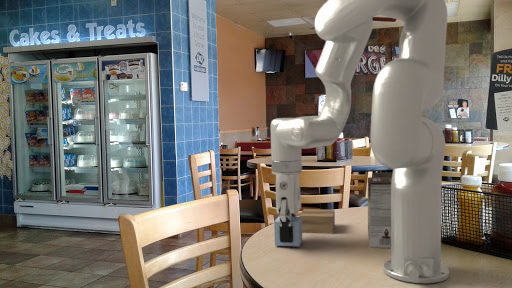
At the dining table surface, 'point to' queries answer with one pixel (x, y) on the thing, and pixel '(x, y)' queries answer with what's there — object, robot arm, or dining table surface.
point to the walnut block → (318, 221)
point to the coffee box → (379, 212)
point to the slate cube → (296, 232)
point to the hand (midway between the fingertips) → (288, 237)
